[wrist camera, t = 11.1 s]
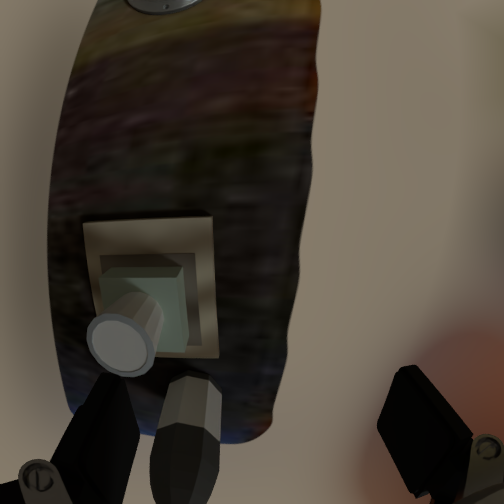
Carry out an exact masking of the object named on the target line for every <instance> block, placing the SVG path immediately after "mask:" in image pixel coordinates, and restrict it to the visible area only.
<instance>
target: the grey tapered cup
mask: <svg viewBox="0 0 504 504" xmlns="http://www.w3.org/2000/svg"><path fill="white" fill-rule="evenodd" d="M163 322H164V316H163V310H162V309H161V307H160V305H159V304H158V302H157V301H156V300H155V299H154V298H152V297H151V296H150V295H148V294H145V293H142V292H129V293H127V294H125V295H123V296H122V297H121V298H119V299H118V300H117V301H115V302H114V303H113V304H112V305H110V306H109V307H108V308H107V309H105V310H104V311H103V312H101V313H100V314H99V315H98V316H96V317H95V318H94V319H93V321H92V322H91V323H90V325H89V326H88V329H87V343H88V346H89V349H90V352H91V353H92V355H93V356H94V358H95V359H96V360H97V362H98V363H99V364H100V365H102V366H103V367H104V368H106V369H107V370H108V371H110V372H112V373H115V374H118V375H120V376H125V377H136V376H139V375H142V374H145V373H146V372H147V371H148V370H149V369H150V368H151V367H152V366H153V362H154V358H155V354H156V350H157V345H158V341H159V337H160V333H161V330H162V326H163Z"/></svg>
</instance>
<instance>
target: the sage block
mask: <svg viewBox="0 0 504 504" xmlns="http://www.w3.org/2000/svg"><path fill="white" fill-rule="evenodd" d="M99 285H100V291H101V296H102V302H103V307H104V310H105V309H107V308H108V307H109V306H110V305H112V304H113V303H114V302H115V301H117V300H118V299H119V298H121V297H122V296H123V295H125V294H127V293H129V292H142V293H145V294H148V295H150V296H151V297H152V298H154V299H155V300H156V301H157V302H158V304H159V305H160V307H161V309H162V310H163V316H164V322H163V326H162V330H161V333H160V337H159V341H158V345H157V350H156V352H182V353H185V350H186V346H187V342H188V338H189V329H188V319H187V309H186V299H185V287H184V275H183V266H182V267H111V268H110V269H109V270H108V271H106V272H105V273H104V274H103V275H101V276H100V277H99Z"/></svg>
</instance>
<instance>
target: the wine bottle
mask: <svg viewBox="0 0 504 504" xmlns="http://www.w3.org/2000/svg"><path fill="white" fill-rule="evenodd" d="M221 401H222V389H221V387H220V386H219V385H218V384H217V383H216V381H215V380H214V379H213V378H212V377H211V376H210V375H209V374H205V373H200V372H195V371H191V370H187V371H185V372H183V373H181V374H179V375H177V376H175V377H172V379H171V381H170V384H169V387H168V391H167V394H166V398H165V402H164V405H163V409H162V413H161V416H160V420H159V424H158V428H157V432H156V435H155V439H154V443H153V447H152V451H151V455H150V485H151V490H152V494H153V498H154V500H155V502H156V504H206V503H207V501H208V499H209V498H210V496H211V493H212V490H213V488H214V485H215V482H216V479H217V476H218V473H219V456H220V427H221Z"/></svg>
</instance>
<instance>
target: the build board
mask: <svg viewBox="0 0 504 504" xmlns="http://www.w3.org/2000/svg"><path fill="white" fill-rule="evenodd" d="M83 231H84V241H85V249H86V257H87V264H88V271H89V277H90V283H91V289H92V295H93V300H94V305H95V310H96V315H97V316H98V315H99V314H100V313H101V312H103V311H104V307H103V302H102V296H101V291H100V285H99V277H100V276H101V275H103V274H104V273H105V272H106V271H108V270H109V269H110V268H111V267H182V266H183V275H184V287H185V299H186V309H187V319H188V329H189V338H188V342H187V346H186V350H185V353H182V352H156V354H155V357H172V358H219V341H218V326H217V309H216V291H215V271H214V247H213V216H189V217H162V218H141V219H122V220H105V221H89V222H85V223H83Z"/></svg>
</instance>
